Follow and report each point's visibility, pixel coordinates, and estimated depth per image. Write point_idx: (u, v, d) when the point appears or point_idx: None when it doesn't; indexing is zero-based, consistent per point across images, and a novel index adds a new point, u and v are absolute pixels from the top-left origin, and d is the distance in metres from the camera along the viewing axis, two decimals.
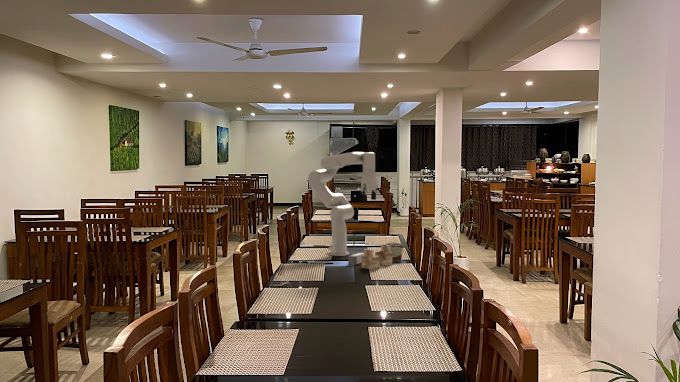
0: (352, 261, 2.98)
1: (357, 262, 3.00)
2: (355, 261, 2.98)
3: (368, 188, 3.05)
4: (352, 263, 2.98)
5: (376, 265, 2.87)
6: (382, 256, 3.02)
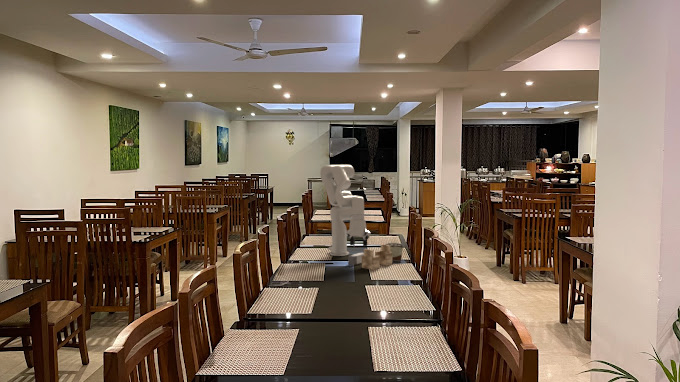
0: (352, 261, 2.98)
1: (357, 262, 3.00)
2: (355, 261, 2.98)
3: None
4: (352, 263, 2.98)
5: (376, 265, 2.87)
6: (382, 256, 3.02)
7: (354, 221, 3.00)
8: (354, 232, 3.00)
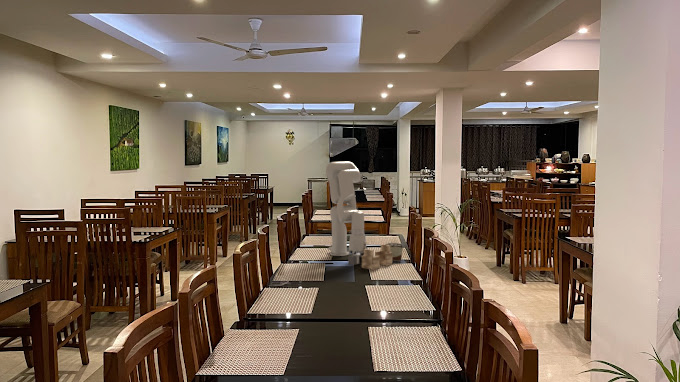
0: (352, 261, 2.98)
1: (357, 262, 3.00)
2: (355, 261, 2.98)
3: None
4: (352, 263, 2.98)
5: (376, 265, 2.87)
6: (382, 256, 3.02)
7: (354, 236, 3.01)
8: (354, 247, 3.01)
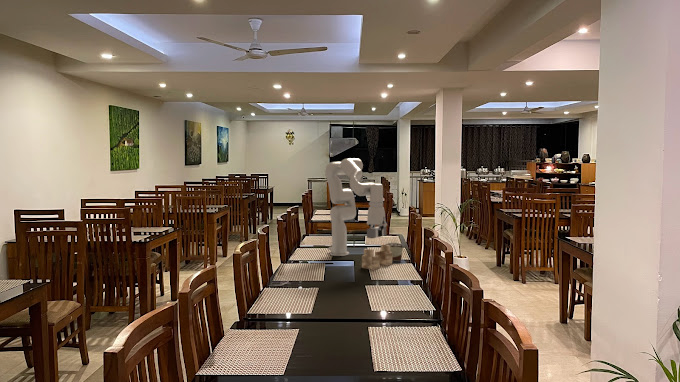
0: (371, 234, 2.88)
1: (376, 236, 2.90)
2: (374, 234, 2.88)
3: None
4: (371, 236, 2.88)
5: (376, 265, 2.87)
6: (382, 256, 3.02)
7: (373, 209, 2.91)
8: (373, 220, 2.91)
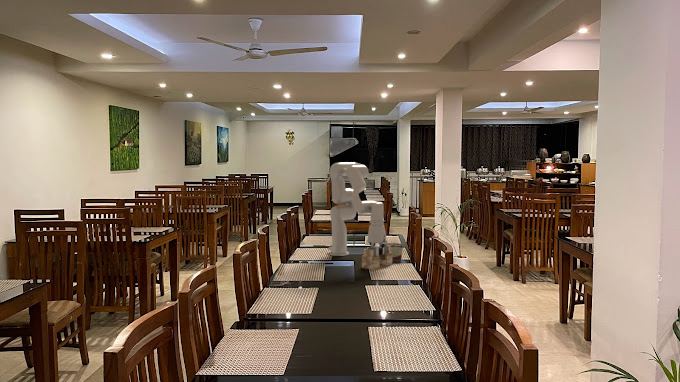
0: None
1: (377, 254, 2.90)
2: (375, 253, 2.89)
3: None
4: None
5: (376, 265, 2.87)
6: (382, 256, 3.02)
7: (373, 227, 2.91)
8: (373, 239, 2.92)
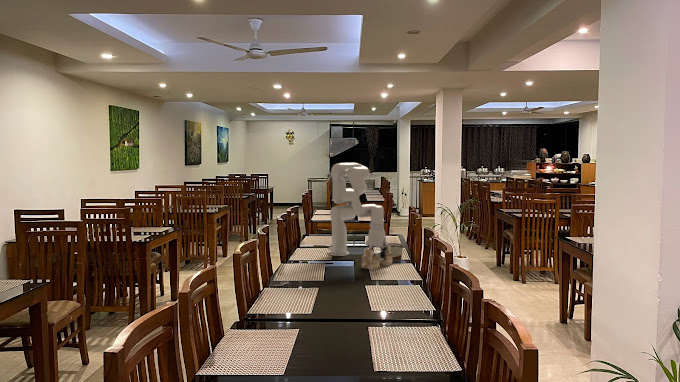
0: None
1: None
2: None
3: None
4: None
5: (376, 265, 2.87)
6: None
7: (373, 231, 2.92)
8: (373, 242, 2.92)
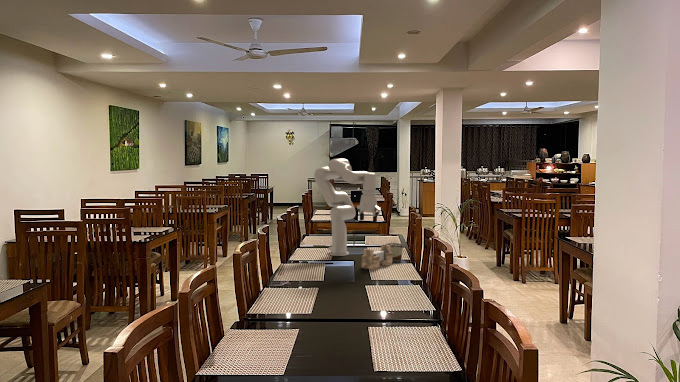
0: None
1: None
2: None
3: None
4: None
5: (376, 265, 2.87)
6: None
7: (365, 197, 3.01)
8: (365, 208, 3.02)
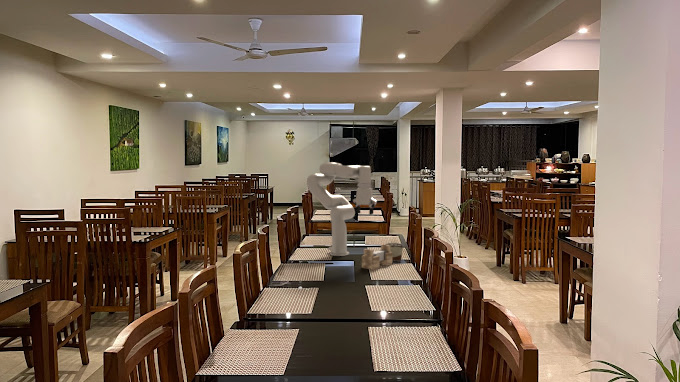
0: None
1: None
2: None
3: None
4: None
5: (376, 265, 2.87)
6: None
7: (361, 190, 3.08)
8: (361, 201, 3.08)
